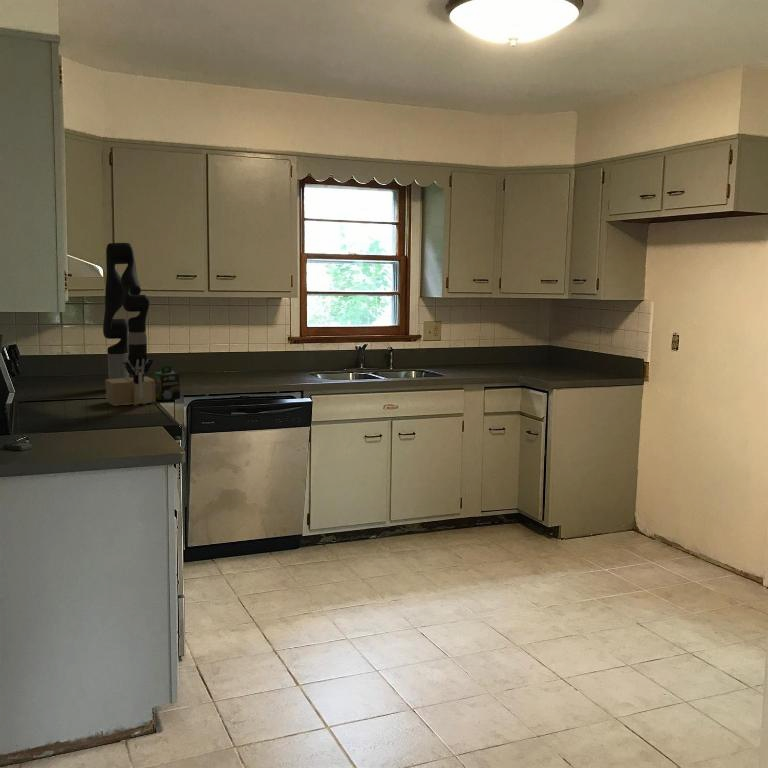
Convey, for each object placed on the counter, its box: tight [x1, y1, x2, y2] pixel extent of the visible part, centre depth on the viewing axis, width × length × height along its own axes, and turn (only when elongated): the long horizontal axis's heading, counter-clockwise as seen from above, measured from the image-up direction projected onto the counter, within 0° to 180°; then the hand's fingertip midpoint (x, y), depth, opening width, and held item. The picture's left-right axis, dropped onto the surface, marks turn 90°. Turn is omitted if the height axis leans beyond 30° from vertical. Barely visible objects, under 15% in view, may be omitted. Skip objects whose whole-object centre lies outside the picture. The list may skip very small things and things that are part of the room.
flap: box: [133, 371, 152, 404], centre depth 351 cm, size 5×8×15 cm, turn 132°
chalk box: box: [152, 364, 181, 401], centre depth 370 cm, size 9×9×15 cm
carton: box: [105, 376, 157, 404], centre depth 358 cm, size 12×18×10 cm
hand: (138, 383), depth 348 cm, fingers closed
